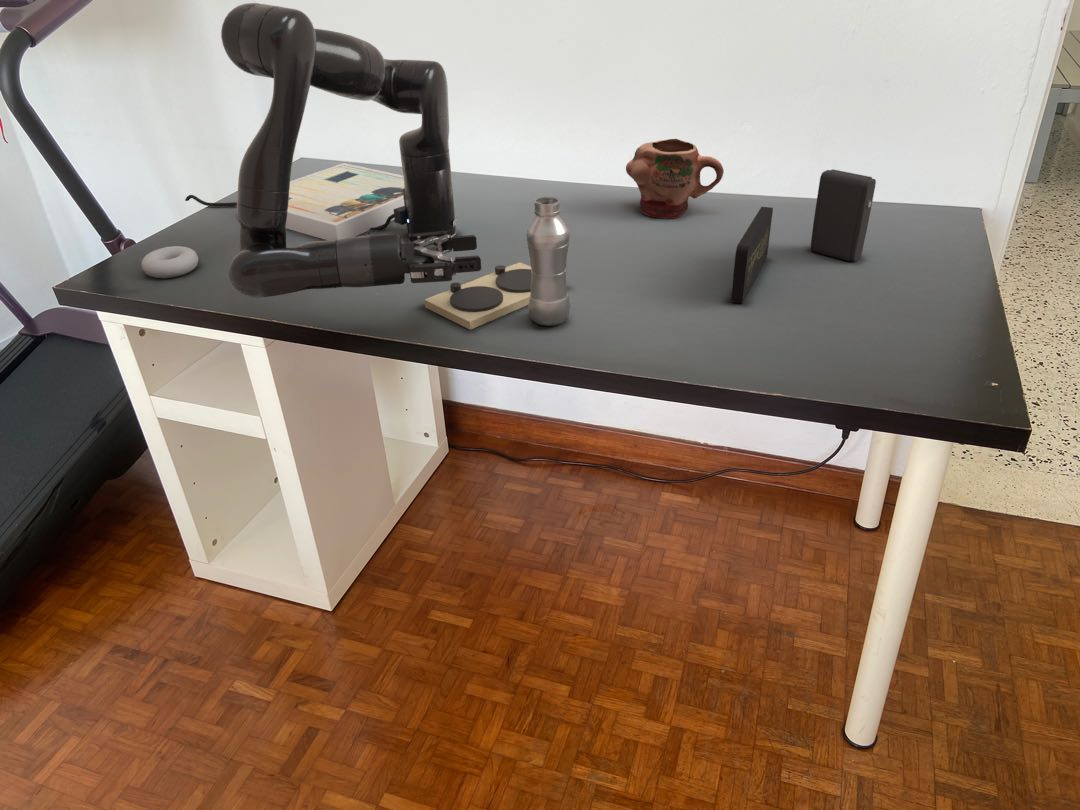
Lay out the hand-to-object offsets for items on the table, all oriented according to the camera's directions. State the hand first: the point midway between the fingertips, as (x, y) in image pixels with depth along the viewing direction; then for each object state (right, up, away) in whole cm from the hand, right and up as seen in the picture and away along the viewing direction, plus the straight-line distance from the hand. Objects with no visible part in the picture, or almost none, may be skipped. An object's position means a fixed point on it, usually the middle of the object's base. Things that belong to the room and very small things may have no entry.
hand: (478, 252), depth 128 cm
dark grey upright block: (+64, +4, +28) cm, 70 cm away
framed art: (-34, +20, +58) cm, 70 cm away
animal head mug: (+37, +17, +49) cm, 64 cm away
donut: (-60, +2, +31) cm, 67 cm away
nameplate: (+46, -2, +19) cm, 50 cm away
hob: (+2, -5, +16) cm, 17 cm away
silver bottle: (+11, -10, +8) cm, 17 cm away
